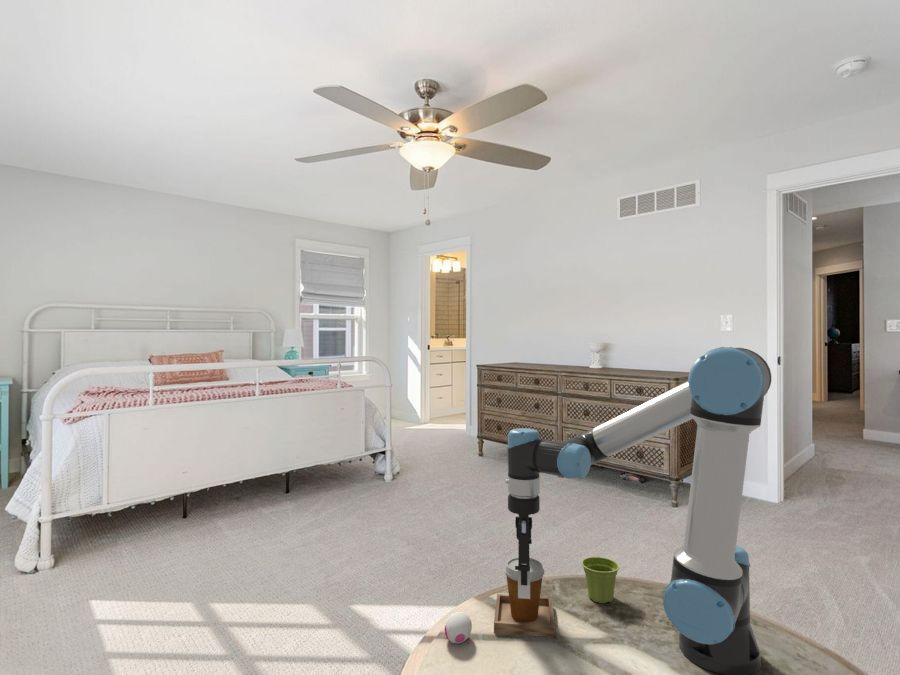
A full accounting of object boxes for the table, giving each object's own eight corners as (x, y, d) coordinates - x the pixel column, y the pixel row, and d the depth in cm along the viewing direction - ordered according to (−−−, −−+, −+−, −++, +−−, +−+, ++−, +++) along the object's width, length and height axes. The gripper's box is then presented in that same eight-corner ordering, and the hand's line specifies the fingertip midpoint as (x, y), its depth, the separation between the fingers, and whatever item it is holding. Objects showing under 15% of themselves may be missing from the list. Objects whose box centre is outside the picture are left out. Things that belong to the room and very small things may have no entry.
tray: (551, 606, 125) (551, 597, 125) (555, 637, 111) (555, 627, 111) (497, 602, 127) (497, 593, 127) (493, 632, 113) (493, 622, 113)
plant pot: (579, 602, 126) (578, 568, 127) (584, 586, 135) (584, 554, 135) (618, 610, 123) (617, 574, 123) (620, 593, 132) (620, 559, 132)
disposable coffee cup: (544, 628, 113) (544, 575, 114) (502, 623, 115) (502, 571, 116) (545, 607, 123) (544, 557, 123) (506, 603, 125) (506, 554, 125)
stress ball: (452, 645, 114) (436, 618, 115) (481, 627, 113) (465, 601, 114) (446, 664, 107) (429, 635, 108) (477, 645, 106) (459, 617, 107)
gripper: (509, 480, 133) (509, 560, 132) (506, 510, 108) (506, 609, 107) (538, 481, 131) (538, 562, 131) (541, 511, 107) (541, 612, 106)
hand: (524, 583), depth 119 cm, fingers open, 13 cm apart
